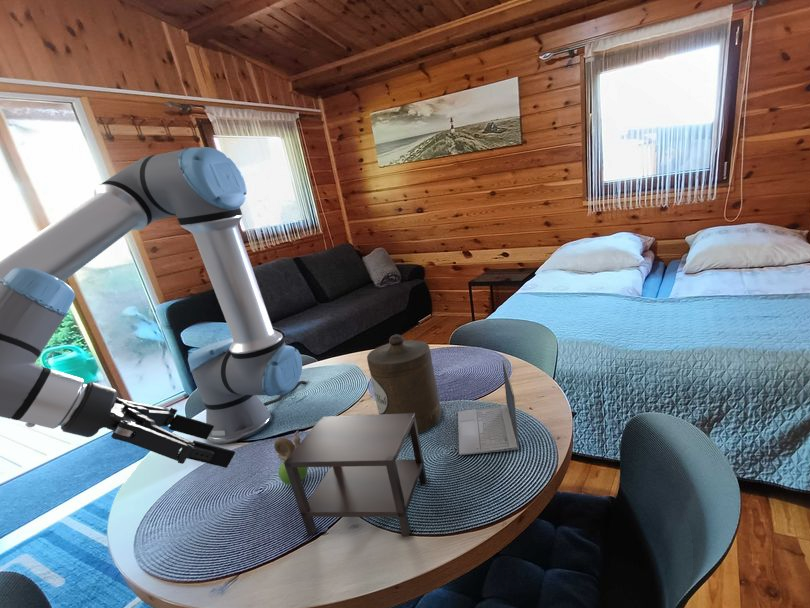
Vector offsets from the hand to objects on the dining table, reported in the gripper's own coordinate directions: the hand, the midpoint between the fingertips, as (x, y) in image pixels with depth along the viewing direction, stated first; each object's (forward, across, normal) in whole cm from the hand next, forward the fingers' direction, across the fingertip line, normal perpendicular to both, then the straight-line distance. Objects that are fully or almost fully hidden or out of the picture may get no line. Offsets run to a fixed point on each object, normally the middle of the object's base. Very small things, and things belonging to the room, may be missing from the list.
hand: (219, 445), depth 76 cm
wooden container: (+39, -1, +18) cm, 42 cm away
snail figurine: (+18, 0, -3) cm, 18 cm away
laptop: (+44, +18, +23) cm, 53 cm away
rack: (+22, +18, +1) cm, 29 cm away
